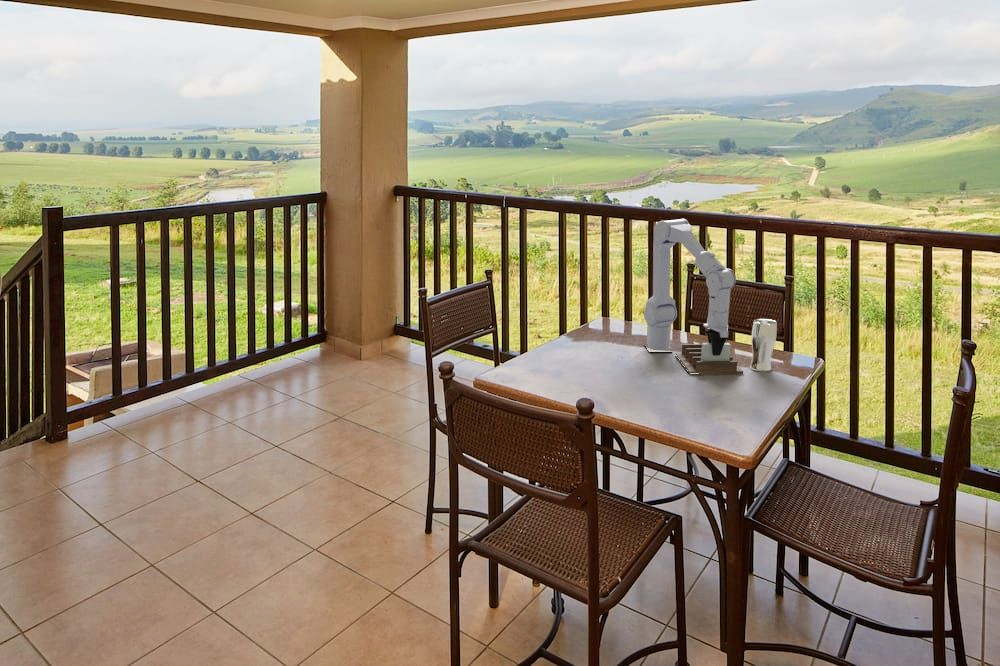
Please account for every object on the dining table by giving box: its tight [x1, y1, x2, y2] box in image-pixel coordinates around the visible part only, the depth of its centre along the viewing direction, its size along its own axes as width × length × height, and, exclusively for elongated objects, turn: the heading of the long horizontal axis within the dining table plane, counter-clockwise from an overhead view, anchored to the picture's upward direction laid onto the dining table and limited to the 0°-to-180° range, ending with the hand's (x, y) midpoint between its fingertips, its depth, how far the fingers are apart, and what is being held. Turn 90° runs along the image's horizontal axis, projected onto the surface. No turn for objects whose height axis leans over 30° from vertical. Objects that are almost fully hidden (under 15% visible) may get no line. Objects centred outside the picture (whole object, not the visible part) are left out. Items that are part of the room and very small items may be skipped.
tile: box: [701, 342, 732, 361], centre depth 196 cm, size 2×8×7 cm, turn 89°
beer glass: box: [749, 318, 778, 373], centre depth 197 cm, size 7×7×15 cm
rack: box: [675, 343, 744, 375], centre depth 203 cm, size 18×16×4 cm
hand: (715, 353), depth 196 cm, fingers closed on tile, 2 cm apart
